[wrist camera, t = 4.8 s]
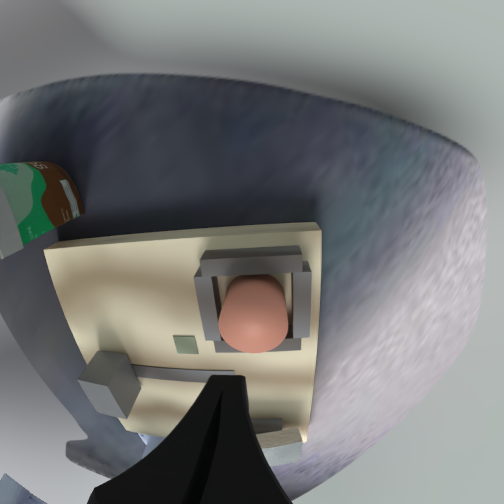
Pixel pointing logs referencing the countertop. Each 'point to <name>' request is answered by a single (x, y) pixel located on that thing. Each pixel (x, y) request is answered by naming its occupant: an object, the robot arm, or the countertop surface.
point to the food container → (34, 202)
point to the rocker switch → (281, 446)
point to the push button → (254, 314)
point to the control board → (194, 315)
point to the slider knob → (110, 383)
